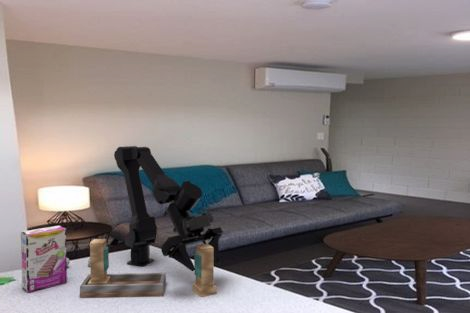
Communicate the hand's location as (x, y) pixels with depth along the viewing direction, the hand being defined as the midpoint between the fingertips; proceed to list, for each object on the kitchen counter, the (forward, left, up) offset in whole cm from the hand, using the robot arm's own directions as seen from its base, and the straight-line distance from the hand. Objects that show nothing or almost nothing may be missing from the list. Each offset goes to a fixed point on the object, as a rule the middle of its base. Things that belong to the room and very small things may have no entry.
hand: (206, 266), depth 119 cm
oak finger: (0, -1, -8) cm, 8 cm away
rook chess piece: (-6, -43, -8) cm, 44 cm away
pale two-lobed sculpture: (+2, -51, -8) cm, 51 cm away
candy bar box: (+13, -45, -8) cm, 47 cm away
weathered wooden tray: (+7, -22, -7) cm, 24 cm away
